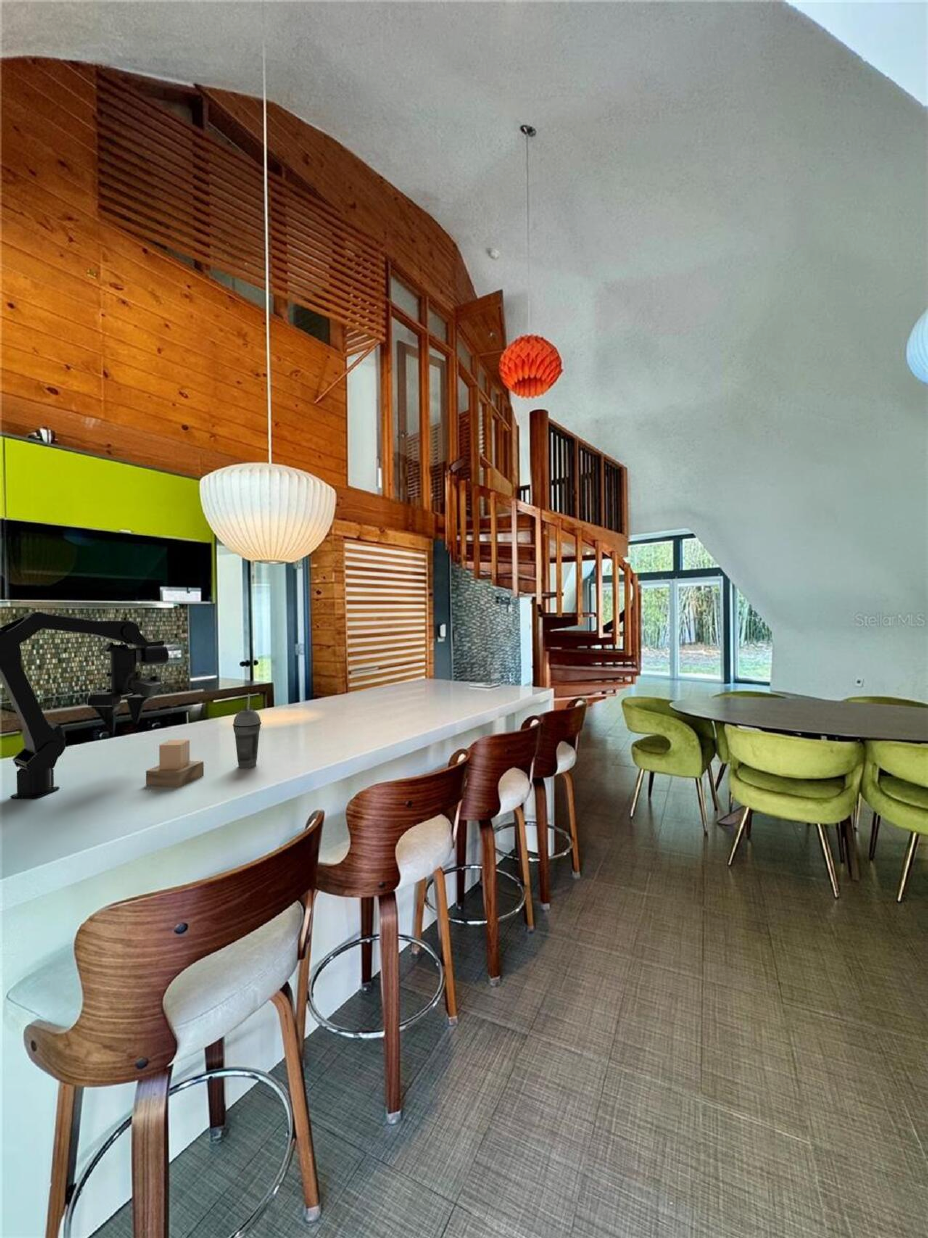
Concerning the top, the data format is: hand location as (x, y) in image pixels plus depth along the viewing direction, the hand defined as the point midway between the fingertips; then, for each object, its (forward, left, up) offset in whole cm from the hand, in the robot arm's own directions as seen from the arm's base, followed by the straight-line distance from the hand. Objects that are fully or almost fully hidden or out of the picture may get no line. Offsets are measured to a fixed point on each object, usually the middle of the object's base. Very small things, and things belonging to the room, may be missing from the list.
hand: (124, 727), depth 134 cm
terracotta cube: (-6, -17, -8) cm, 20 cm away
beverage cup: (+6, -30, -12) cm, 33 cm away
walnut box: (-6, -17, -12) cm, 22 cm away
